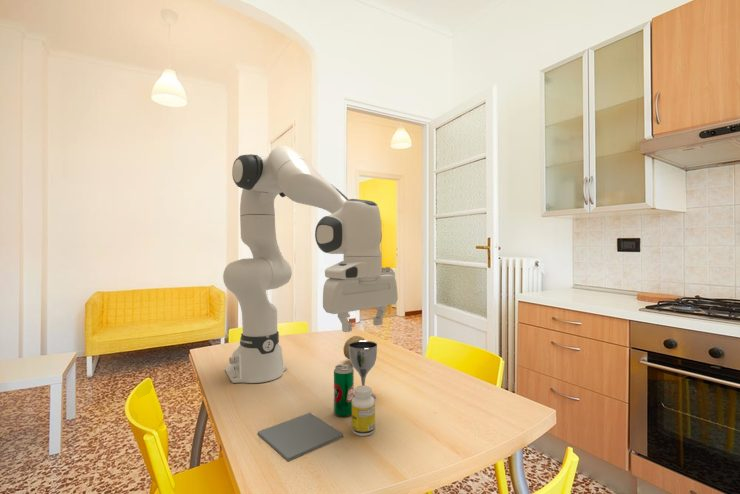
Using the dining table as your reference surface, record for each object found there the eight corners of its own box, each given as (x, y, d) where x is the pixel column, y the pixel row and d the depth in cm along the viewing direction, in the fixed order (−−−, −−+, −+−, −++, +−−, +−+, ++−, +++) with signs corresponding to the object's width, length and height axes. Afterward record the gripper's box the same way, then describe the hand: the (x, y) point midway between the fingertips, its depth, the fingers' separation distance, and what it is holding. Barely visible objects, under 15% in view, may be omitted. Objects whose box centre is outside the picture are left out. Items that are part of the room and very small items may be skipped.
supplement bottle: (351, 425, 87) (351, 384, 87) (373, 424, 87) (373, 383, 87) (352, 437, 82) (351, 393, 82) (376, 436, 82) (375, 393, 82)
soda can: (351, 418, 90) (350, 370, 90) (331, 416, 91) (331, 369, 91) (355, 409, 95) (355, 364, 95) (337, 407, 96) (337, 362, 96)
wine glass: (356, 405, 98) (356, 349, 98) (344, 394, 105) (344, 342, 105) (382, 399, 101) (382, 346, 101) (369, 389, 108) (369, 339, 108)
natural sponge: (362, 369, 126) (361, 340, 126) (339, 366, 130) (338, 338, 130) (371, 361, 135) (371, 334, 135) (349, 358, 138) (349, 332, 138)
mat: (257, 434, 83) (257, 431, 83) (310, 415, 92) (310, 412, 92) (288, 461, 73) (288, 458, 73) (343, 436, 82) (343, 433, 82)
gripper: (385, 266, 94) (385, 319, 94) (318, 270, 80) (319, 333, 80) (403, 267, 89) (403, 323, 89) (335, 271, 75) (336, 338, 75)
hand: (363, 328), depth 84 cm, fingers open, 8 cm apart
